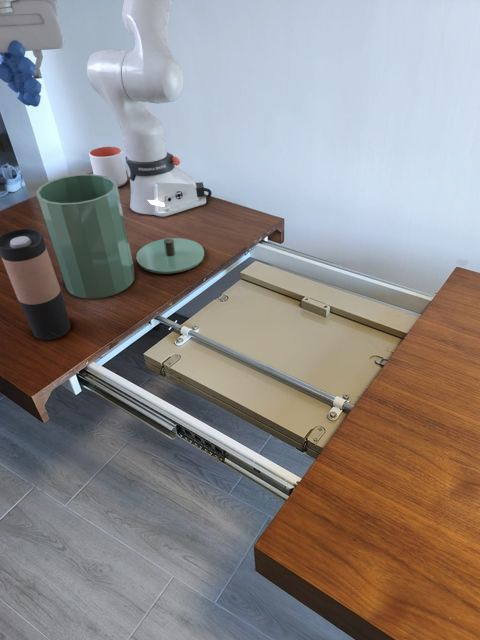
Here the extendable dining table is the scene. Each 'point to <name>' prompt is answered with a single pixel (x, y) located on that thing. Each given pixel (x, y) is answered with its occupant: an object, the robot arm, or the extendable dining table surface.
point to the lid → (170, 255)
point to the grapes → (20, 74)
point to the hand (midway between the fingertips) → (16, 80)
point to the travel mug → (35, 282)
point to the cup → (109, 164)
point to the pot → (88, 234)
